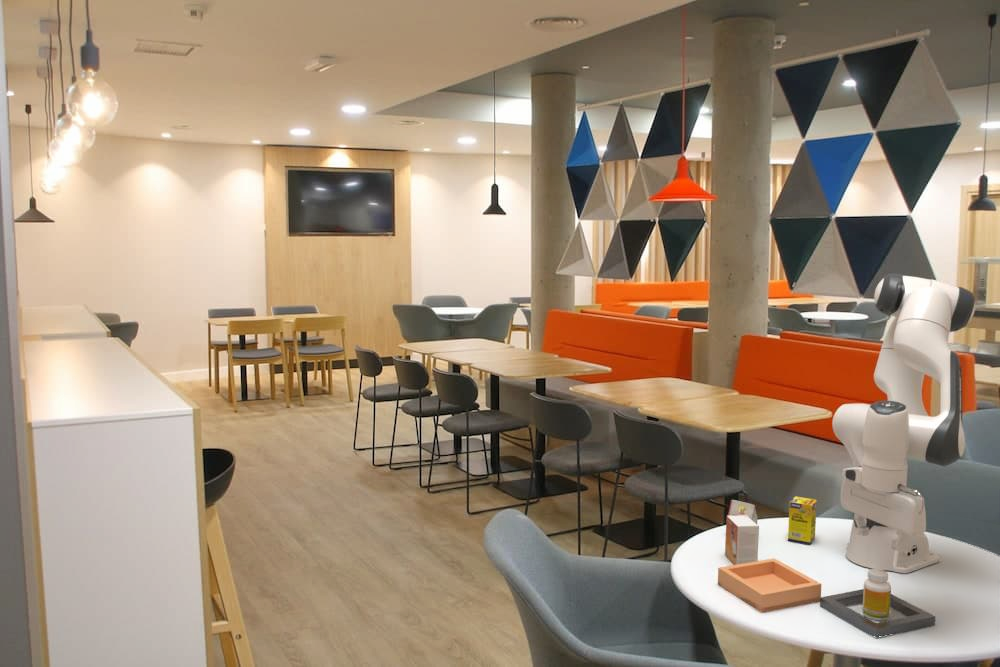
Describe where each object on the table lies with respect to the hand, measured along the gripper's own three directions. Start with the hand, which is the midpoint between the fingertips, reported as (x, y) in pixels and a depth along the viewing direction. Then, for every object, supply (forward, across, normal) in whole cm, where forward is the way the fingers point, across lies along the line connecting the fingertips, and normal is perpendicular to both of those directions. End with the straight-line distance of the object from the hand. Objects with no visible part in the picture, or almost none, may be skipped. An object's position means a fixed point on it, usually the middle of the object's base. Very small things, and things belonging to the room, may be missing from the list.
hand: (879, 542), depth 179 cm
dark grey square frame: (+16, 0, 0) cm, 17 cm away
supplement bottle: (+17, 0, 0) cm, 17 cm away
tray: (+17, +18, +14) cm, 28 cm away
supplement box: (+16, +42, -16) cm, 48 cm away
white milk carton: (+16, +49, -2) cm, 52 cm away
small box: (+17, +36, +8) cm, 41 cm away
